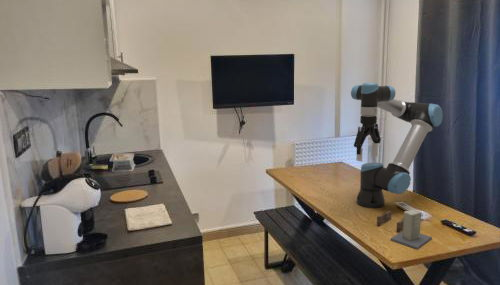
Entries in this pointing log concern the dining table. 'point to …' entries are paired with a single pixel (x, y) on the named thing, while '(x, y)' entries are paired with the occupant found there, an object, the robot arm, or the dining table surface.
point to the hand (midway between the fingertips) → (367, 158)
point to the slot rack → (387, 217)
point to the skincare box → (411, 224)
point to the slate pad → (411, 243)
